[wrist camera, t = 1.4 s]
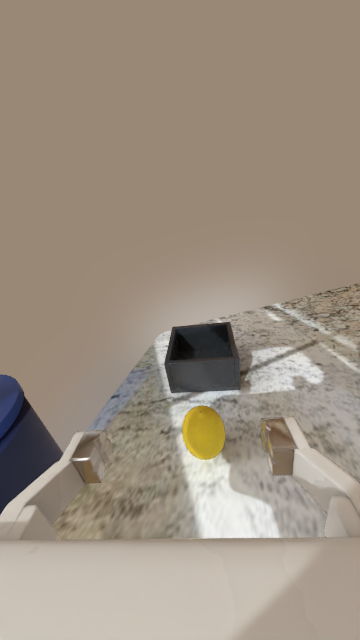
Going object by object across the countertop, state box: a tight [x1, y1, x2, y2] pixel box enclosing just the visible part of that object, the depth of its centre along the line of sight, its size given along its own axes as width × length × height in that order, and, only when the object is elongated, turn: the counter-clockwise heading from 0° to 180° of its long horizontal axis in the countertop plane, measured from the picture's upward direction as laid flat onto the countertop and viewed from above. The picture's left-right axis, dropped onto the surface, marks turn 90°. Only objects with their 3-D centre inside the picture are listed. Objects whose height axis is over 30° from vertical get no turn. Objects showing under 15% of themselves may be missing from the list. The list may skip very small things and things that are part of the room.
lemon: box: [182, 406, 225, 460], centre depth 28 cm, size 6×6×8 cm
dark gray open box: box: [165, 322, 240, 393], centre depth 43 cm, size 13×13×7 cm
